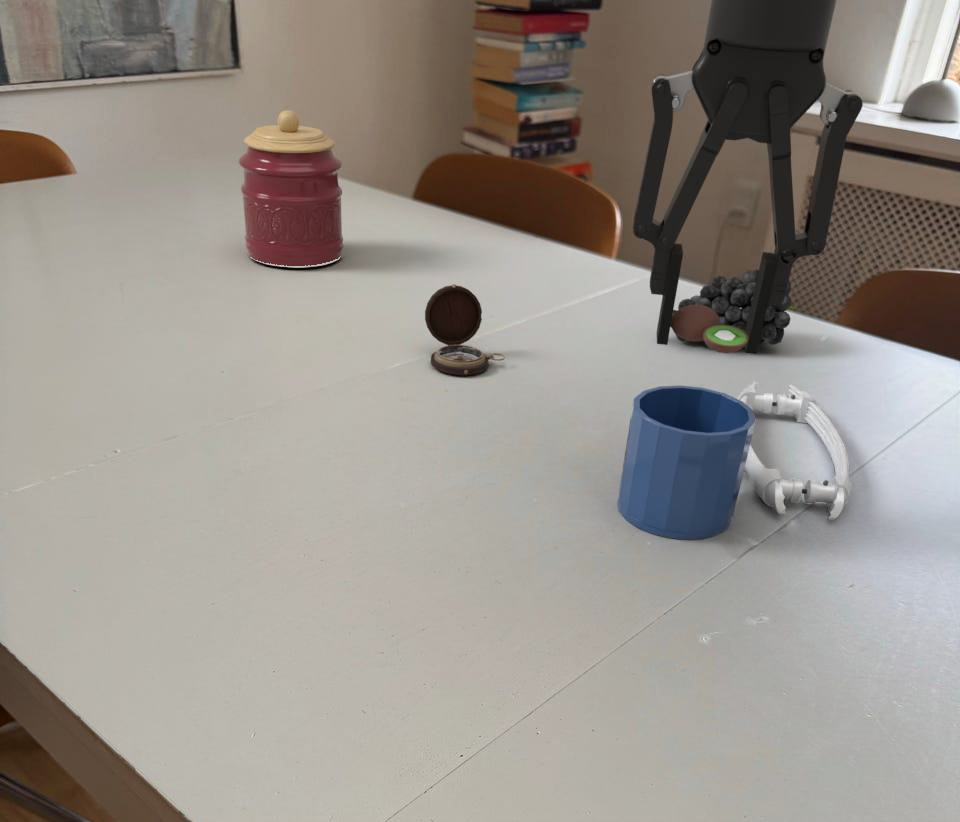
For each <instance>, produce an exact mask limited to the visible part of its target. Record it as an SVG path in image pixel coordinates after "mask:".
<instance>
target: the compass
mask: <svg viewBox="0 0 960 822" xmlns="http://www.w3.org/2000/svg"><path fill="white" fill-rule="evenodd" d="M482 313H483V310H482V306H481V303H480V301H479V299H478V298H477V296H476V295H475V294H474V293H473V292H472V291H471V290H469V289H468V288H466V287H464V286H462V285H456V284H453V283H452V284H451V285H446V286H443V287H440V288H439V289H437V290H436V291H435V292H434V293H433V294H432V295H431V296H430V298H429V299H428V302H427V303H426V306H425V310H424V321H425V325H426V328H427V330H428V331H429V333H430V335H431V336H432V337H433V338H434V339H436V340H437V341H438V342H439V343H442V344H443V345H445V346H442V347H440V348H438V349H437V350H436V351H434V352H433V353H431V355H430V364H431V366H433V368H434V369H436V370H437V371H439V372H442V373H445V374H449V375H453V376H469V375H470V376H471V375H472V376H473V375H477V374H480V373H482V372H484V371H486V370H487V368H489V361H491V360H492V361H499V362H500V361H504V360H505V359H506V356H505V355H504V354H502V353H497V352H496V353H489V354H485V353H484V352H483V351H481V350H480V349H479V348H477V347H474V346H471V345H466V344H465V343H467V342H468V341H470V340H471V339H472V338H473V337H474V336H475V335H476V334H477V333H478V331H479V329H480V327H481V323H482V321H483V318H482ZM494 356H502V357H503V358H494Z"/></svg>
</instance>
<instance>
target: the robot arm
mask: <svg viewBox="0 0 960 822" xmlns="http://www.w3.org/2000/svg"><path fill="white" fill-rule="evenodd" d="M710 1H711V2H710V8H709V13H708V20H707V25H706V31H705V37H704V43H703V48H702V51H701V52H700V55H699V56H698V58H697V60H696V61H695V62H694V63H693V66H692V69H691V70H687V71H684V72H679V73H675V74H672V75H665V74H663V73H662V74H661V73H659V74H657V75H656V76H654V77H653V78H652V81H651V99H652V106H653V120H652V126H651V129H650V136H649V141H648V146H647V151H646V155H645V161H644V165H643V170H642V175H641V181H640V186H639V191H638V196H637V201H636V207H635V211H634V216H633V224H632V229H633V230H632V233H633V235H634V236H635V237H636V238H637V239H639V240H641V239H643V240H645V241H647V242H648V243H650V244H651V245H652V246H653V248H654V252H653V258H652V265H651V271H650V275H649V276H650V277H649V289H650V294H651V295H658V296H662V297H661V304H660V310H659V315H658V322H657V328H656V344H657V345H663V346H668V342H669V337H670V330H671V327H670V326H671V320H672V315H673V310H675V309H674V307H675V302H676V297H677V291H678V286H679V285H678V284H679V279H680V274H681V270H682V269H681V268H682V262H683V256H684V251H683V250H684V249H683V244H682V243H676V242H677V239H678V237H679V236H680V234H681V231H682V229H683V227H684V224H685V223H686V221H687V219H688V217H689V214H690V212H691V211H692V208H693V206H694V205H695V202H696V200H697V198H698V196H699V193H700V191H701V189H702V187H703V185H704V184H705V181H706V179H707V177H708V175H709V172H710V170H711V168H712V166H713V165H714V163H715V161H716V158H717V156H718V155H719V154H720V152H721V150H722V148H723V146H724V144H725V141H726V140H727V141H739V140H744V139H749V140H752V141H754V142H756V143H760V144H766V148H767V155H768V156H767V157H768V169H769V182H770V183H769V185H770V198H771V212H772V213H771V214H772V226H773V240H774V241H773V243H774V252H769V251H768V252H767V251H762V253H761V259H760V263H759V268H758V270H759V272H758V276H757V281H756V285H755V290H754V294H753V299H752V304H751V308H750V313H749V317H748V322H747V326H746V331H745V332H746V333H747V335H748V336H749V339H748V343H747V344H746V345H745V346H744V350H745V353H746V354H751V355H757V354H758V349H759V346H760V345H759V341H760V337H761V333H762V328H763V324H764V320H765V315H766V311H767V306H777V307H780V305H781V304H782V302H783V301H784V298H785V294H786V290H787V285H788V281H790V277H791V273H792V268H793V265H794V263H795V262H796V261H797V260H798V259H800V258H802V257H803V258H804V257H806V256H810V255H811V256H819V255H820V254H821V253H823V252H824V250H825V248H826V243H827V239H828V233H829V228H830V223H831V218H832V212H833V208H834V203H835V198H836V193H837V188H838V183H839V178H840V172H841V168H842V163H843V157H844V152H845V147H846V141H847V137H848V135H849V133H850V131H851V130H852V128H853V125H854V124H855V122H856V120H857V118H858V117H859V115H860V113H861V111H862V109H863V106H864V105H863V104H864V103H863V99H862V98H861V97H860V96H859V95H858V94H857V93H856V92H854V91H853V90H851V89H847V90H843V89H841V88H839V87H836V86H834V85H832V84H829V83H828V82H827V77H826V73H825V69H824V58H825V52H826V48H827V44H828V43H827V42H828V39H829V35H830V30H831V25H832V21H833V18H834V13H835V9H836V4H837V0H710ZM692 90H694V92H695V95H696V96H697V99H698V100H699V103H700V105H701V107H702V109H703V112H704V114H705V116H706V118H707V121H706V123H705V125H704V128H703V130H702V132H701V134H700V136H699V140H698V142H697V145H696V147H695V149H694V150H693V153H692V155H691V158H690V160H689V162H688V164H687V166H686V168H685V170H684V173H683V175H682V177H681V179H680V181H679V183H678V185H677V188H676V190H675V192H674V193H673V196H672V198H671V201H670V203H669V204H668V207H667V209H666V211H665V213H664V215H663V218H662V219H661V221H659V220H657V219H655V218H654V215H655V210H656V207H657V203H658V202H657V201H658V197H659V192H660V187H661V182H662V178H663V173H664V168H665V163H666V158H667V153H668V150H669V149H668V148H669V145H670V144H669V143H670V139H671V134H672V130H673V122H674V113H677V112H679V111H681V110H682V108H683V107H684V105H685V100H686V96H687V94H688V93H689V92H690V91H692ZM817 101H819V102H820V110H819V119H820V120H821V122H822V123H823V124H824V125H823V128H822V131H821V136H820V139H819V146H818V150H817V151H818V152H817V156H816V160H815V161H816V162H815V168H814V173H813V178H812V184H811V189H810V194H809V195H810V196H809V199H808V200H809V201H808V206H807V210H806V216H805V222H804V227H803V232H801V233H797V234H796V222H795V221H796V220H795V209H794V208H795V203H794V188H793V172H792V171H793V170H792V140H791V129H792V128H793V127H794V126H795V125H796V124H797V122H798V121H799V120H800V119H801V118H802V117H803V116H804V115H805V114H806V113H807V112H808V111H809V110H810V109H811V108H812V106H813V105H814V104H816V102H817Z"/></svg>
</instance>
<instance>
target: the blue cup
mask: <svg viewBox="0 0 960 822" xmlns="http://www.w3.org/2000/svg"><path fill="white" fill-rule="evenodd" d="M632 400H633V401H632V407H631V412H630V413H631V414H630V419H629V426H628V432H627V439H626V444H625V445H626V446H625V452H624V458H623V463H622V464H623V465H622V470H621V476H620V477H621V478H620V484H619V489H618V500H617V508H618V511H619V513H620V515H621V516H622V518H624V519H625V520H626V521H627V522H628V523H630V524H631V525H633V527H636V528H638V529H640V530H642V531H644V532H647V533H650V534H653V535H654V536H655V535H656V536H659V537H663V538H669V539H674V540H701V539H708V538H711V537H715V536H717V535H719V534H721V533H723V532H725V531H726V530H727V529H728V528H729V526H730V525H731V522H732V518H733V517H734V515H735V510H736V506H737V501H738V498H739V493H740V490H741V485H742V482H743V481H742V480H743V477H744V472H745V469H744V468H745V464H746V460H747V455H748V451H749V447H750V444H751V443H752V438H753V432H754V429H755V425H756V416H755V410H752V409H751V408H749V407H748V406H747V405H746V404H745V403H744V402H742V401H740V400H738V398H736V397H734V396H731V395H729V394H727V393H726V392H721V391H717V390H713V389H710V388H706V387H700V386H689V385H663V386H662V385H661V386H656V387H652V388H649V389H645V390H642V391H641V392H640V393H639V394H637V395H636V396H634V398H633V399H632Z"/></svg>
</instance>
